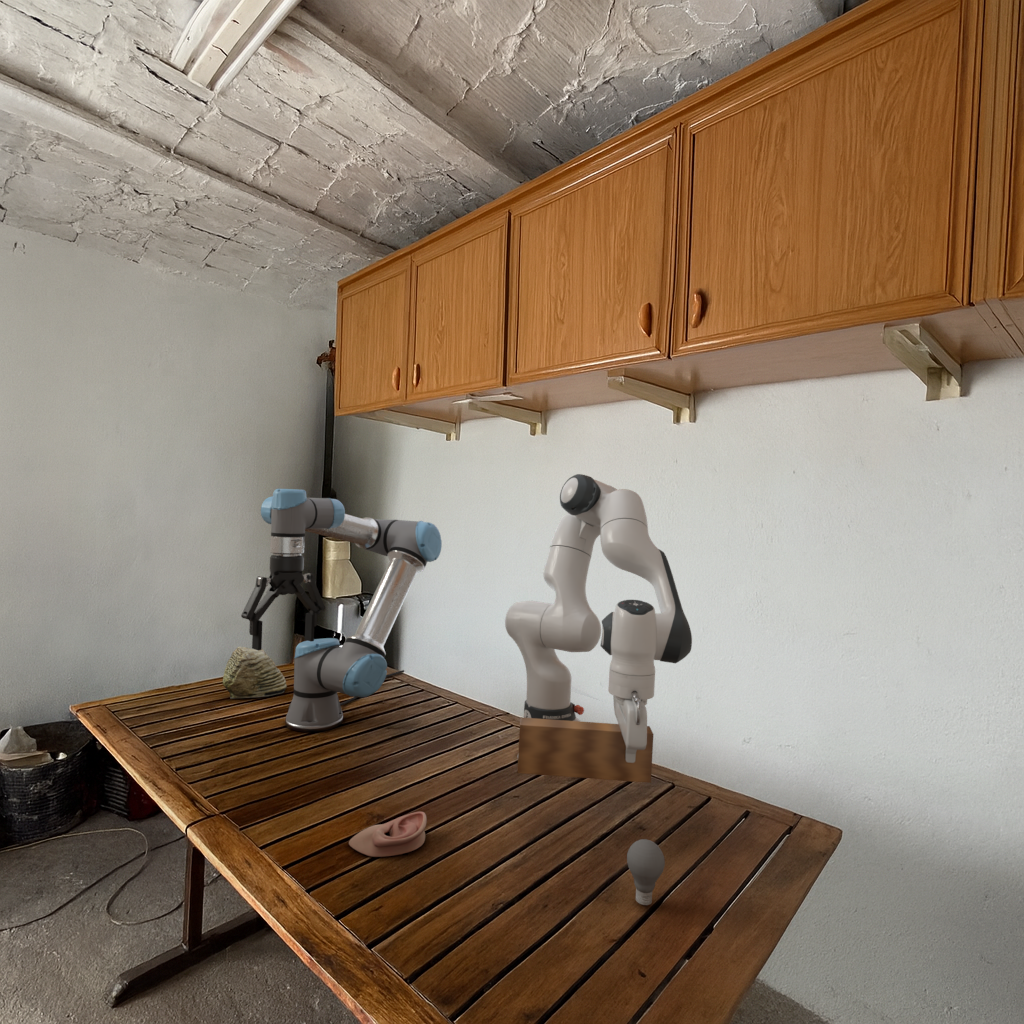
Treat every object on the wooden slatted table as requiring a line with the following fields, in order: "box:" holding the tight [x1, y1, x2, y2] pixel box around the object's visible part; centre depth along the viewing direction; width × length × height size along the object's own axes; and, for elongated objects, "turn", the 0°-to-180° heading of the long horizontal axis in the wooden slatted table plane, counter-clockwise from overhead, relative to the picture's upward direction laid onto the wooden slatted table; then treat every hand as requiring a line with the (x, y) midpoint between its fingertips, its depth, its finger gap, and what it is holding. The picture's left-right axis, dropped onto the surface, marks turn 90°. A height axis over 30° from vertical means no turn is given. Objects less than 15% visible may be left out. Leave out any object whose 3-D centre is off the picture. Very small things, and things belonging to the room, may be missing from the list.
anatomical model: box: [348, 811, 428, 858], centre depth 117 cm, size 13×4×12 cm
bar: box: [516, 717, 654, 784], centre depth 124 cm, size 26×4×10 cm, turn 87°
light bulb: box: [626, 838, 666, 906], centre depth 102 cm, size 6×6×10 cm
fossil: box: [222, 646, 288, 699], centre depth 198 cm, size 9×18×15 cm, turn 132°
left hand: (283, 644), depth 149 cm, fingers open, 13 cm apart
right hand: (627, 755), depth 124 cm, fingers closed on bar, 4 cm apart
